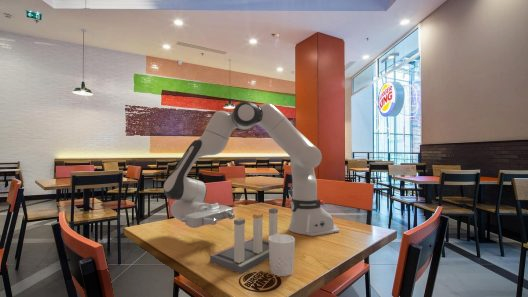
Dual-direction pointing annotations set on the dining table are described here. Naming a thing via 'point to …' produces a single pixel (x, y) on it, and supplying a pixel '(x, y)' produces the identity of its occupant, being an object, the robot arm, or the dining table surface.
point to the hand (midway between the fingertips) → (224, 219)
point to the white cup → (281, 254)
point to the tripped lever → (257, 232)
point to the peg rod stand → (244, 248)
